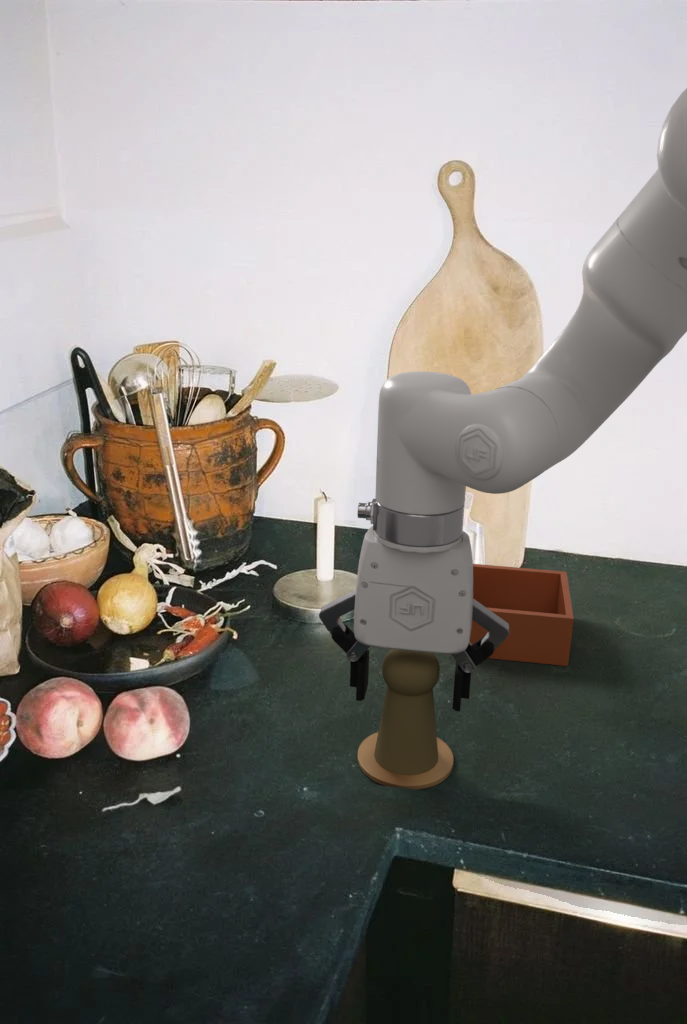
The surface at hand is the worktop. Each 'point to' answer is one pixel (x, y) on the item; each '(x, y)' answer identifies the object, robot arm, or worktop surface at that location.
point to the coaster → (404, 781)
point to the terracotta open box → (526, 612)
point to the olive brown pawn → (408, 713)
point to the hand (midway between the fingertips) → (409, 697)
